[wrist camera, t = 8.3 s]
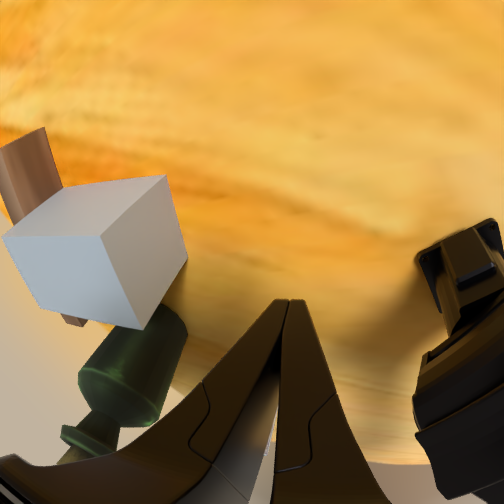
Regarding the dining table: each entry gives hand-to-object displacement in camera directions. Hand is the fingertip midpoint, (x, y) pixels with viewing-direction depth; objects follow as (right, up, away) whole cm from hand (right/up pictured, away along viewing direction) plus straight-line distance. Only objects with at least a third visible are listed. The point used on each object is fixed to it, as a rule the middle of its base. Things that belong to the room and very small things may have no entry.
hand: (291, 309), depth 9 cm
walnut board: (-19, +5, +17) cm, 26 cm away
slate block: (-12, +4, +16) cm, 20 cm away
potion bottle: (-11, -5, +23) cm, 25 cm away
